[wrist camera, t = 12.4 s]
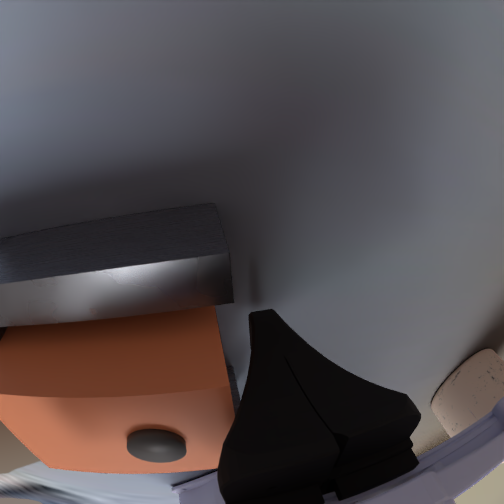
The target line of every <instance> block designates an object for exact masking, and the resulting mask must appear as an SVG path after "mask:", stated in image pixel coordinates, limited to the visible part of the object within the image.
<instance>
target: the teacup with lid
mask: <svg viewBox="0 0 504 504" xmlns="http://www.w3.org/2000/svg"><path fill="white" fill-rule="evenodd" d="M502 397H504V361H503V360H502V359H501V358H500V357H499V356H498V355H497V354H496V353H495V351H494V350H492V349H484V350H481V351H479V352H477V353H476V354H474V355H473V356H471V357H470V358H469V359H468V360H466V361H465V362H464V363H463V364H462V365H460V366H459V367H458V368H457V369H456V370H455V371H454V372H453V373H452V374H451V375H450V376H449V377H448V378H447V380H446V381H445V382H444V383H443V384H442V386H441V387H440V388H439V390H438V391H437V393H436V394H435V396H434V398H433V400H432V403H431V408H432V411H433V412H434V414H435V415H436V417H437V418H438V419H439V421H440V422H441V424H442V425H443V427H444V428H445V430H446V431H447V433H448V434H449V436H450V437H451V438H452V437H453V436H455V435H457V434H458V433H460V432H461V431H463V430H464V429H466V428H468V427H469V426H471V425H472V424H474V423H475V422H477V421H478V420H479V419H481V418H482V417H484V416H485V415H487V414H488V413H489V412H491V411H492V409H493V407H494V406H495V405H496V404H497V402H498V401H499V400H500V399H501V398H502ZM502 463H504V461H503V462H502ZM502 463H501V464H502Z"/></svg>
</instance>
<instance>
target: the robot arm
mask: <svg viewBox="0 0 504 504" xmlns="http://www.w3.org/2000/svg"><path fill="white" fill-rule="evenodd" d="M248 316H249V331H250V346H251V357H250V365H249V371H248V376H247V380H246V385H245V388H244V392H243V395H242V399H241V402H240V405H239V408H238V410H237V413H236V416H235V418H234V421H233V423H232V426H231V428H230V430H229V432H228V434H227V436H226V438H225V440H224V443H223V446H222V451H221V455H220V459H219V464H218V470H217V471H216V472H214V473H211V474H208V475H206V476H203V477H201V478H198V479H195V480H192V481H190V482H187V483H184V484H181V485H178V486H175V487H173V488H172V492H173V493H177V494H179V500H180V504H456V503H455V501H454V499H455V498H456V497H458V496H459V495H461V494H462V493H463V492H465V491H466V490H468V489H469V488H470V487H472V486H473V485H474V484H476V483H477V482H479V481H480V480H481V479H482V478H484V477H485V476H486V475H488V474H489V473H490V472H491V471H492V470H494V469H495V468H496V467H497V466H499V465H500V464H501V463H502V462H503V461H504V397H502V398H501V399H500V400H499V401H498V402H497V404H496V405H495V406H494V407H493V409H492V411H491V412H489V413H488V414H487V415H485V416H484V417H482V418H481V419H479V420H478V421H477V422H475V423H474V424H472V425H471V426H469V427H468V428H466V429H464V430H463V431H461V432H460V433H458V434H457V435H455V436H453V437H452V438H450V439H448V440H447V441H445V442H443V443H441V444H440V445H438V446H436V447H434V448H433V449H431V450H429V451H427V452H425V453H423V454H421V455H419V456H418V457H416V456H415V454H414V452H413V451H412V449H411V448H412V447H413V443H412V441H411V439H410V438H409V437H410V436H411V434H412V433H413V431H414V430H415V428H416V427H417V426H418V424H419V422H420V419H421V414H420V412H419V410H418V409H417V407H416V406H415V404H414V403H413V402H412V400H411V399H410V398H409V397H408V396H407V394H404V393H400V392H397V391H394V390H390V389H387V388H384V387H381V386H379V385H376V384H374V383H371V382H369V381H366V380H364V379H362V378H360V377H358V376H356V375H354V374H352V373H350V372H348V371H346V370H345V369H343V368H341V367H340V366H338V365H336V364H335V363H333V362H332V361H330V360H329V359H327V358H326V357H324V356H323V355H322V354H320V353H319V352H318V351H317V350H315V349H314V348H313V347H311V346H310V345H309V344H308V343H307V342H306V341H304V340H303V339H302V338H301V337H300V336H299V335H298V334H297V333H296V332H295V331H294V330H292V329H291V328H290V327H289V326H288V325H287V324H286V323H285V321H284V320H283V319H282V318H281V317H280V316H279V315H278V314H277V313H276V312H275V311H274V310H273V309H268V310H262V311H256V312H251V313H250V314H249V315H248Z"/></svg>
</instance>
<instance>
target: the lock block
mask: <svg viewBox="0 0 504 504" xmlns="http://www.w3.org/2000/svg"><path fill="white" fill-rule="evenodd" d="M234 418H235V413H234V407H233V401H232V395H231V389H230V383H229V379H228V374H227V369H226V364H225V359H224V354H223V348H222V343H221V338H220V333H219V327H218V322H217V316H216V311H215V305H214V306H207V307H200V308H193V309H185V310H178V311H170V312H162V313H154V314H145V315H137V316H128V317H118V318H109V319H99V320H88V321H77V322H66V323H53V324H40V325H25V326H8V328H7V329H6V331H5V333H4V335H3V337H2V339H1V341H0V420H1V421H2V422H3V423H4V425H5V426H6V427H7V428H8V429H9V430H10V431H11V432H12V433H13V434H14V435H15V436H16V437H17V438H18V439H19V440H20V441H21V442H22V443H23V444H24V445H25V446H26V447H27V448H28V449H29V450H30V451H31V452H32V453H34V455H36V456H37V457H38V458H39V459H40V460H41V461H42V462H43V463H44V464H46V465H47V466H48V467H49V468H55V469H63V470H72V471H82V472H96V473H119V474H148V473H172V472H186V471H197V470H207V469H215V468H218V464H219V459H220V455H221V451H222V446H223V443H224V440H225V438H226V436H227V434H228V432H229V430H230V428H231V426H232V423H233V421H234Z"/></svg>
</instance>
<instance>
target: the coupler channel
mask: <svg viewBox="0 0 504 504" xmlns="http://www.w3.org/2000/svg"><path fill="white" fill-rule="evenodd" d="M228 303H234V297H233V286H232V275H231V264H230V253H229V250H228V247H227V243H226V240H225V237H224V234H223V230H222V227H221V224H220V220H219V217H218V214H217V211H216V207H215V204H214V203H211V204H203V205H195V206H188V207H180V208H173V209H166V210H159V211H152V212H145V213H138V214H132V215H126V216H119V217H113V218H107V219H101V220H95V221H90V222H84V223H78V224H73V225H67V226H62V227H57V228H52V229H47V230H42V231H37V232H32V233H27V234H22V235H17V236H13V237H8V238H4V239H0V341H1V339H2V337H3V335H4V333H5V331H6V329H7V328H8V326H25V325H40V324H53V323H66V322H77V321H88V320H99V319H109V318H118V317H128V316H137V315H145V314H154V313H162V312H170V311H178V310H185V309H193V308H200V307H207V306H214V305H221V304H228ZM226 369H227V374H228V379H229V383H230V389H231V395H232V401H233V407H234V413H235V416H236V413H237V410H238V408H239V405H240V402H241V400H240V396H239V392H238V388H237V383H236V379H235V374H234V370H233V367H228V368H226Z"/></svg>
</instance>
